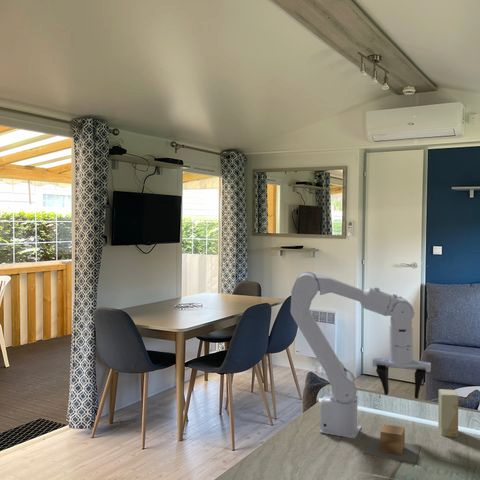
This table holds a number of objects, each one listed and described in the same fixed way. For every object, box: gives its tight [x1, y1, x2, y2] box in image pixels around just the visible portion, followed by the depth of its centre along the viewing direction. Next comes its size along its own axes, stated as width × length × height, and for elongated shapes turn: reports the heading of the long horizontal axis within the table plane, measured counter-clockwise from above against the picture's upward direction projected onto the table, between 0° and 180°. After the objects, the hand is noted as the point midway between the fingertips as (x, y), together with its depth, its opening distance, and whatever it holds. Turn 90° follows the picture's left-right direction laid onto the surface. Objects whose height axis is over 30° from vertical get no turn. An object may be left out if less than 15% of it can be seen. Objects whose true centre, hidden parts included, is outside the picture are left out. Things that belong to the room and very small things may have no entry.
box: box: [437, 388, 459, 438], centre depth 144 cm, size 5×4×11 cm
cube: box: [379, 424, 406, 455], centre depth 133 cm, size 5×5×5 cm
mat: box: [363, 437, 421, 464], centre depth 133 cm, size 12×10×1 cm
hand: (401, 395), depth 143 cm, fingers open, 7 cm apart
